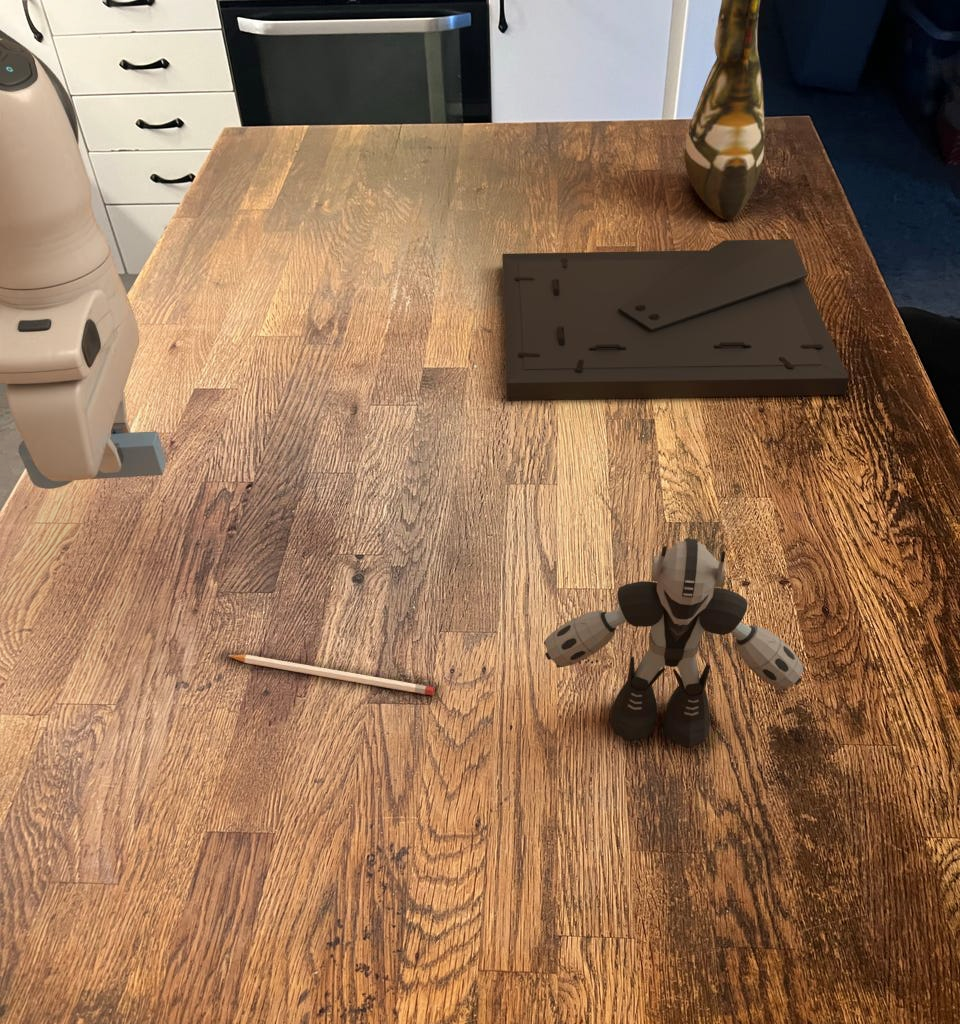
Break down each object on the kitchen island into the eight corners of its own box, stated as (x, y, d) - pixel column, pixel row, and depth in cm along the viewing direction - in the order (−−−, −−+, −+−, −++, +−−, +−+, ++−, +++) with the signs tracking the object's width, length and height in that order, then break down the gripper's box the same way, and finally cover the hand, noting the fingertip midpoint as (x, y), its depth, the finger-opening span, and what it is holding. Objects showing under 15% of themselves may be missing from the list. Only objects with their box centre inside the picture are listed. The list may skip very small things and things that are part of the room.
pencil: (432, 697, 84) (431, 692, 83) (226, 661, 87) (225, 656, 86) (434, 690, 84) (434, 685, 84) (230, 655, 87) (228, 649, 87)
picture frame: (787, 265, 133) (502, 270, 134) (793, 238, 131) (502, 244, 131) (844, 395, 113) (506, 400, 113) (852, 367, 110) (506, 373, 110)
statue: (766, 222, 142) (824, -73, 116) (691, 224, 142) (732, -70, 116) (740, 173, 153) (788, -105, 128) (670, 176, 153) (704, -102, 127)
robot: (779, 711, 82) (840, 527, 67) (783, 758, 79) (847, 576, 64) (543, 686, 84) (552, 502, 69) (537, 731, 81) (545, 549, 66)
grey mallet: (168, 453, 84) (159, 423, 82) (161, 482, 81) (151, 452, 79) (37, 460, 84) (24, 431, 82) (25, 490, 81) (12, 460, 79)
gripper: (48, 234, 78) (102, 386, 88) (-25, 377, 64) (49, 538, 75) (129, 230, 78) (173, 382, 89) (73, 372, 65) (133, 533, 75)
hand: (116, 454), depth 81 cm, fingers closed on grey mallet, 2 cm apart
